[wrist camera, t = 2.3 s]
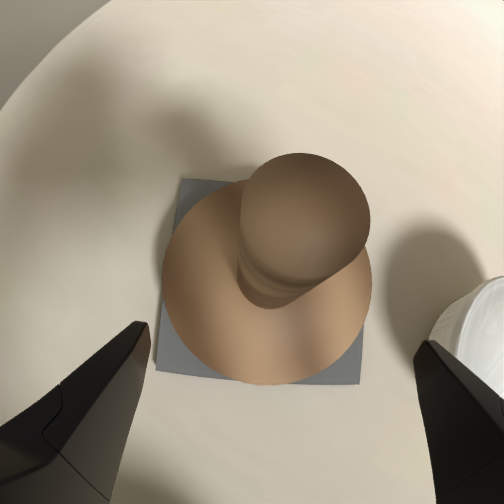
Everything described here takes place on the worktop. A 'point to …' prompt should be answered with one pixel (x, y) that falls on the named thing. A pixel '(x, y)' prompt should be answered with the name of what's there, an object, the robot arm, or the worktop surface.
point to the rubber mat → (185, 362)
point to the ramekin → (477, 332)
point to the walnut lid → (272, 271)
